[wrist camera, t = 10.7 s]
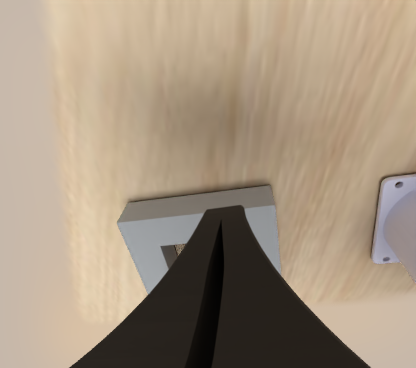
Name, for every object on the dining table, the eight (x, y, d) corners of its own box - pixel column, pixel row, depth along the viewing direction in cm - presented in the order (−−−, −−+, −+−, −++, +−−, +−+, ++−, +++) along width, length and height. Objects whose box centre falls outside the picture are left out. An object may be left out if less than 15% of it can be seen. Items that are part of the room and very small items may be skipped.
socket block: (270, 185, 20) (275, 205, 18) (279, 287, 26) (284, 312, 23) (127, 202, 22) (116, 222, 20) (164, 295, 27) (159, 319, 25)
